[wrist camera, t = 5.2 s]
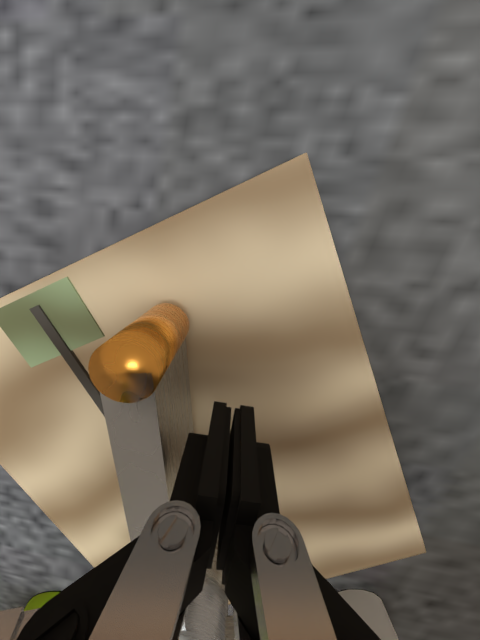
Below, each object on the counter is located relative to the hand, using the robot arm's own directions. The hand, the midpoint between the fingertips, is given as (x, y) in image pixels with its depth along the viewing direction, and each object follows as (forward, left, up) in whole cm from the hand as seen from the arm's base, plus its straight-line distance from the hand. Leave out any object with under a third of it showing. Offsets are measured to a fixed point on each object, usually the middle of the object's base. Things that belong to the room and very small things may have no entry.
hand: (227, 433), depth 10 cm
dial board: (-4, +4, -5) cm, 7 cm away
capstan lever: (-3, +4, -3) cm, 6 cm away
